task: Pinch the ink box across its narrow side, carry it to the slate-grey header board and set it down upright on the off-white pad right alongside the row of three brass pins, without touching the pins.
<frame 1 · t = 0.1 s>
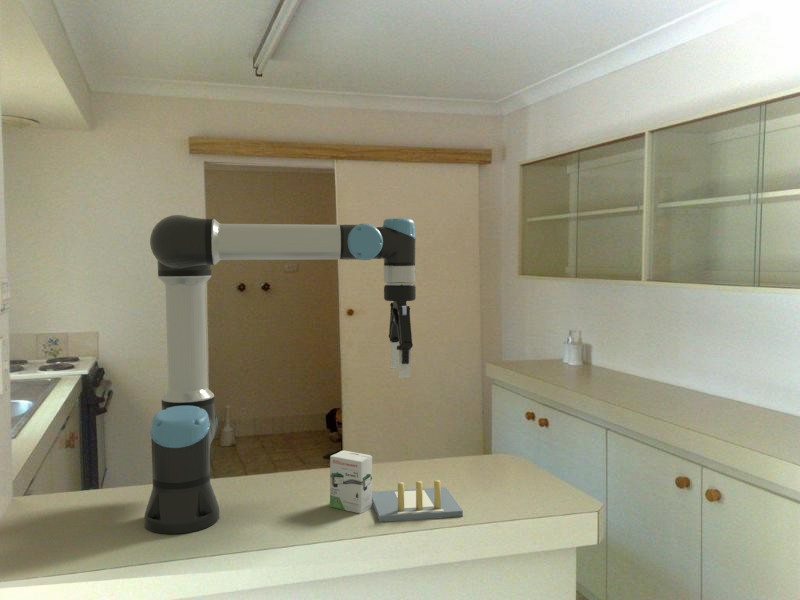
hand: (400, 373, 171), 28 cm above the counter, fingers open, 13 cm apart
header board: (414, 506, 160), on the counter
ink box: (351, 508, 160), on the counter
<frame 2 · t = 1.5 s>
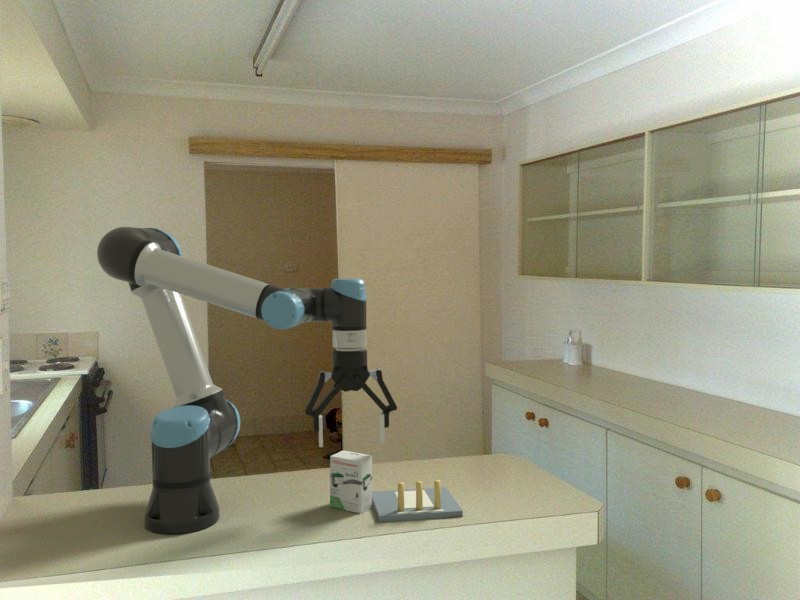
hand: (351, 444, 159), 14 cm above the counter, fingers open, 13 cm apart
nothing on the counter moved.
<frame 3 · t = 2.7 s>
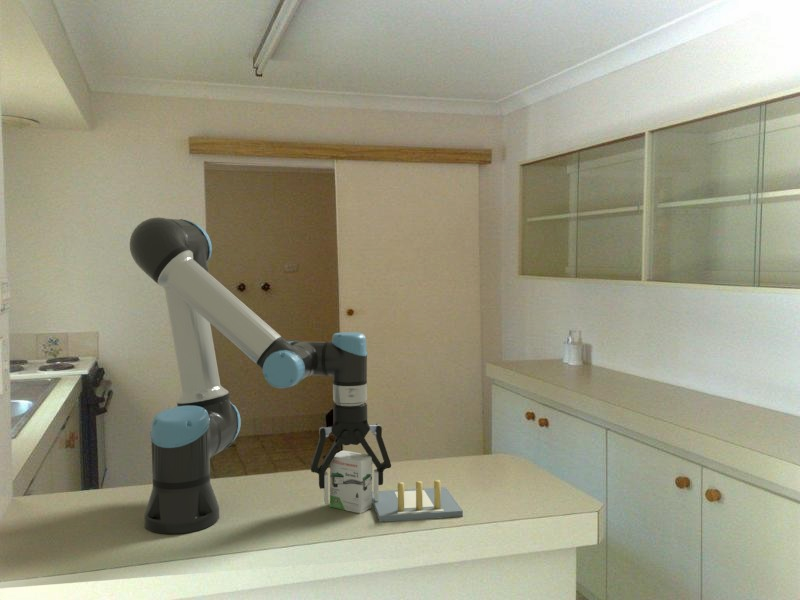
hand: (351, 500, 160), 1 cm above the counter, fingers open, 10 cm apart
nothing on the counter moved.
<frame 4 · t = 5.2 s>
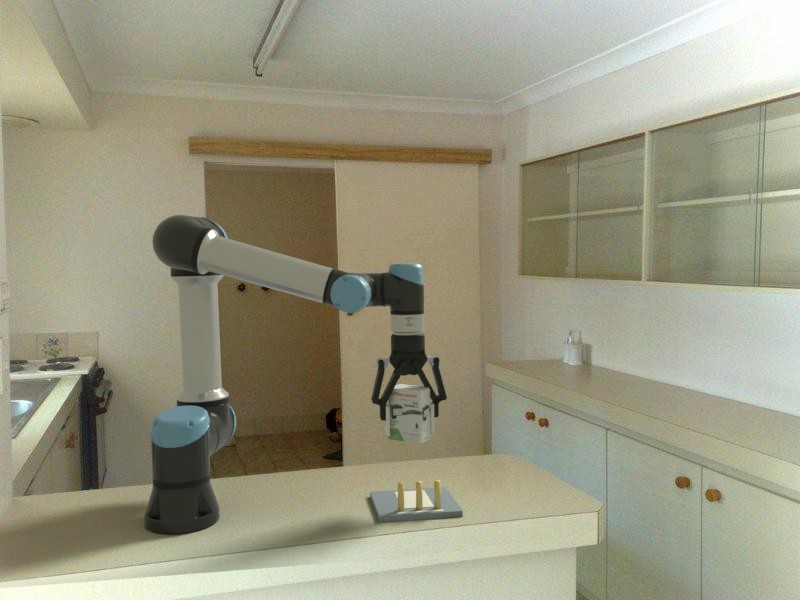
hand: (409, 433, 160), 16 cm above the counter, fingers closed on ink box, 9 cm apart
ink box: (409, 440, 160), point 15 cm above the counter, touching gripper
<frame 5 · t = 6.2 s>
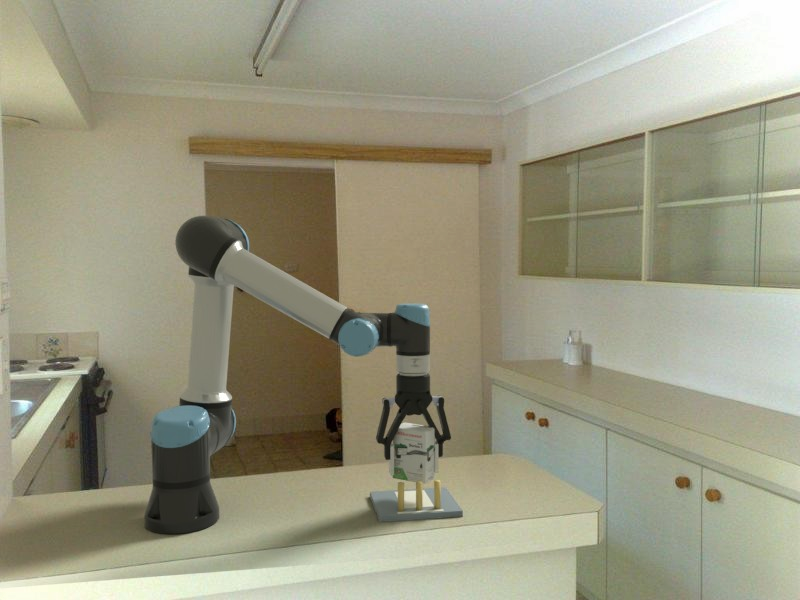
hand: (413, 472, 161), 7 cm above the counter, fingers closed on ink box, 9 cm apart
ink box: (413, 479, 161), point 6 cm above the counter, touching gripper
when the fingers open (4 cm above the counter, at t = 7.2 s): ink box drops 1 cm, resting on header board.
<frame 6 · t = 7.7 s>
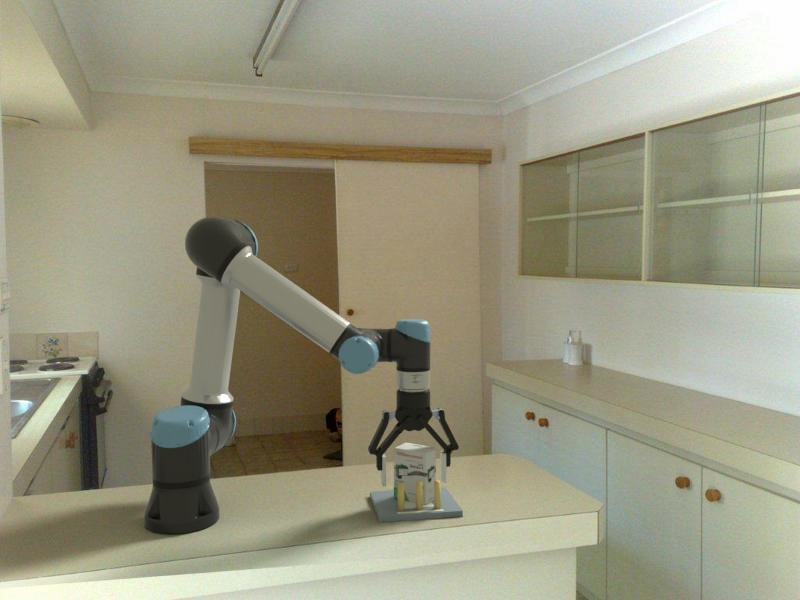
hand: (413, 482, 161), 5 cm above the counter, fingers open, 13 cm apart
ink box: (414, 499, 161), point 1 cm above the counter, touching header board
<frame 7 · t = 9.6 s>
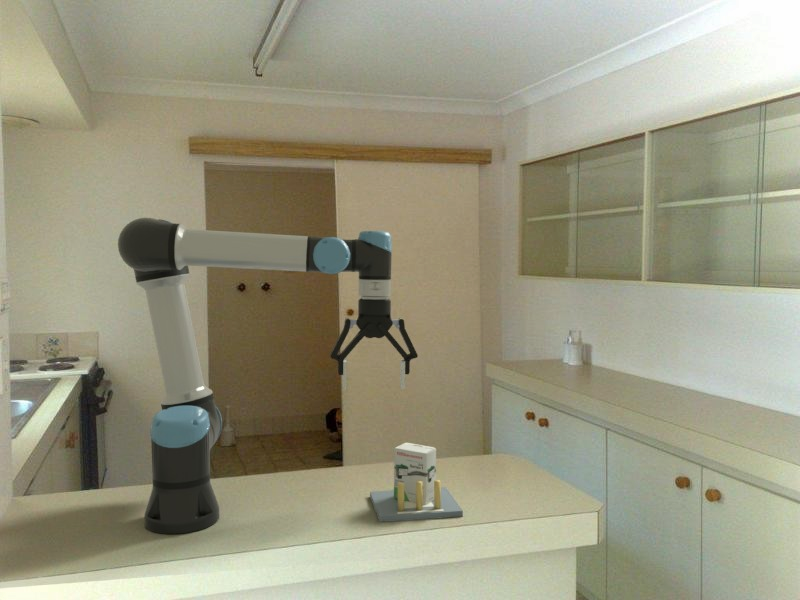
hand: (373, 388, 168), 25 cm above the counter, fingers open, 13 cm apart
nothing on the counter moved.
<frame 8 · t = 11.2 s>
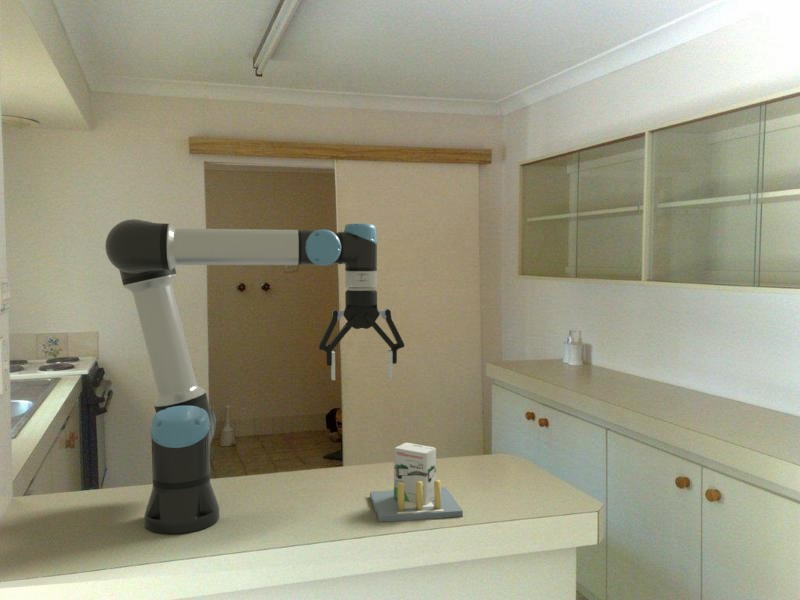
hand: (361, 378, 171), 27 cm above the counter, fingers open, 13 cm apart
nothing on the counter moved.
at the end: ink box inside the target area on the header board (0.3 cm from its centre), point 1.1 cm above the header board's base; ink box tilted 0°; the gripper is holding nothing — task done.
